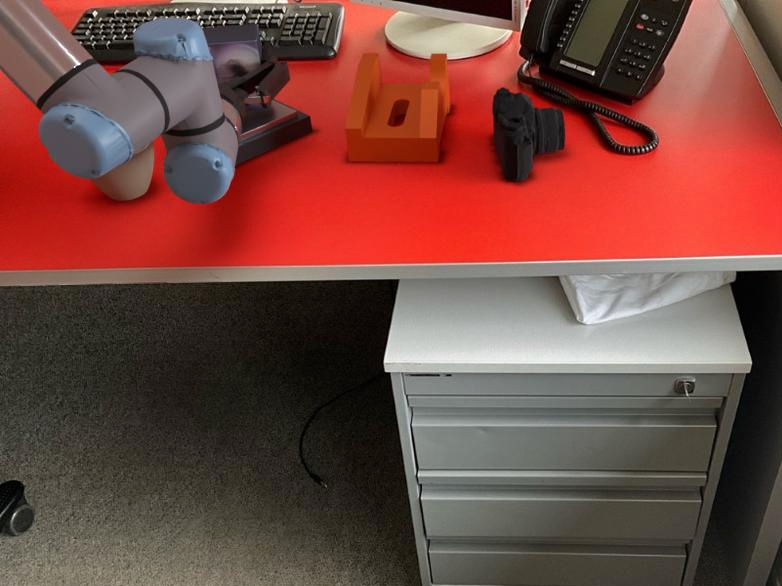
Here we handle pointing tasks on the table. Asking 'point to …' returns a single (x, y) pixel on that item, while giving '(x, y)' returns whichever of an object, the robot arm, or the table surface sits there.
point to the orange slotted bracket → (387, 100)
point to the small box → (235, 52)
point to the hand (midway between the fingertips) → (229, 54)
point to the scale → (270, 129)
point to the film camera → (524, 132)
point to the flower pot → (129, 176)
